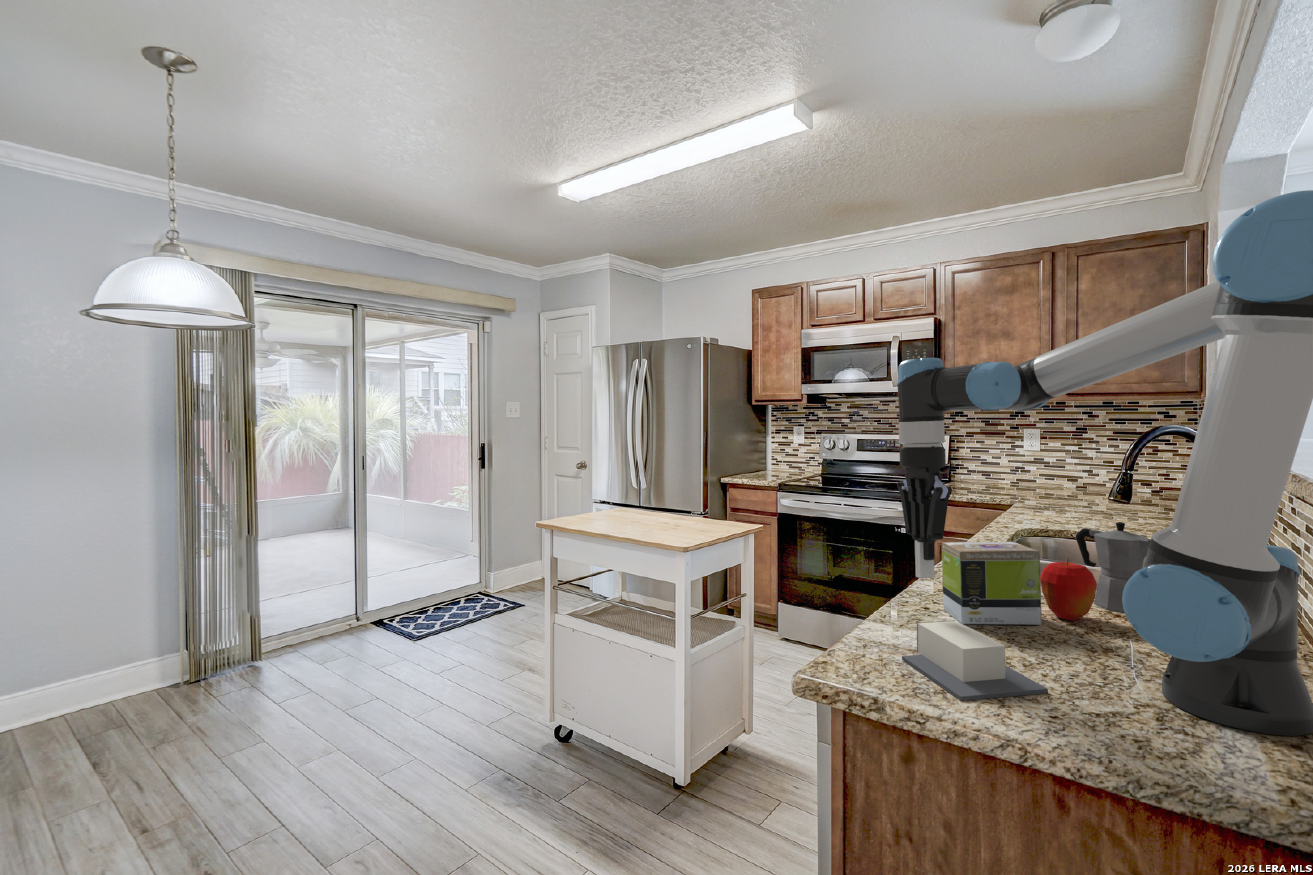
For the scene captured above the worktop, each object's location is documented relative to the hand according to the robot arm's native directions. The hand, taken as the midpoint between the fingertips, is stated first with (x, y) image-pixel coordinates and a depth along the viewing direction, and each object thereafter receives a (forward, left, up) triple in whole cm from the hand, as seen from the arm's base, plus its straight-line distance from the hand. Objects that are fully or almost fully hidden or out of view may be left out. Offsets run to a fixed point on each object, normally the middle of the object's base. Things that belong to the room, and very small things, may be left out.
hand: (925, 576), depth 106 cm
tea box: (+10, -21, -12) cm, 26 cm away
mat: (-14, +1, -12) cm, 18 cm away
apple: (+7, -36, -12) cm, 38 cm away
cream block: (-5, +1, -9) cm, 10 cm away
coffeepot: (+12, -52, -12) cm, 55 cm away
